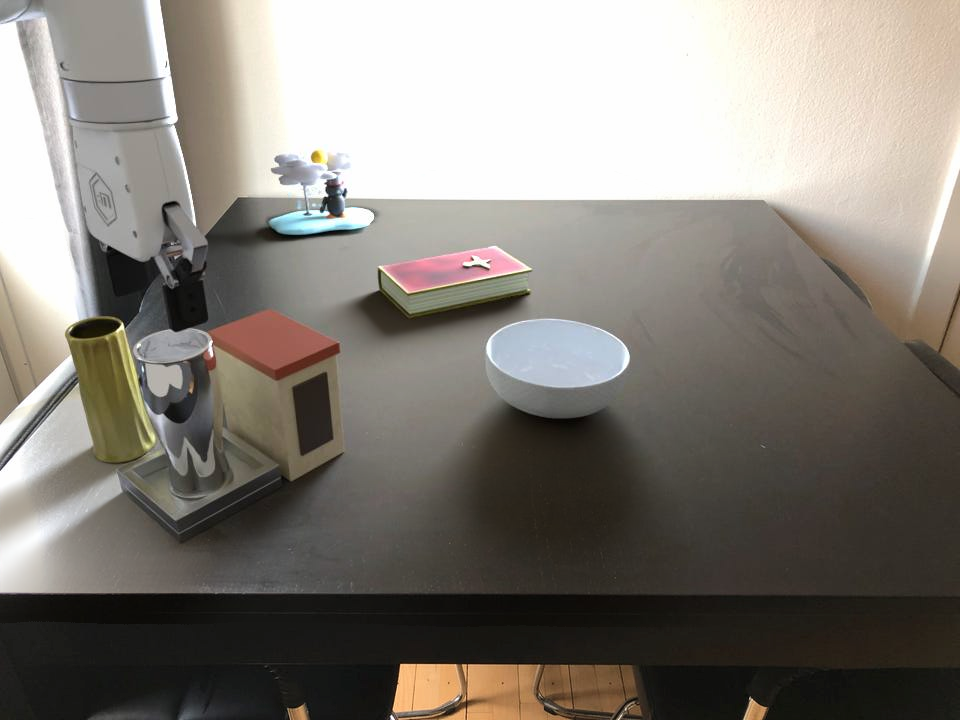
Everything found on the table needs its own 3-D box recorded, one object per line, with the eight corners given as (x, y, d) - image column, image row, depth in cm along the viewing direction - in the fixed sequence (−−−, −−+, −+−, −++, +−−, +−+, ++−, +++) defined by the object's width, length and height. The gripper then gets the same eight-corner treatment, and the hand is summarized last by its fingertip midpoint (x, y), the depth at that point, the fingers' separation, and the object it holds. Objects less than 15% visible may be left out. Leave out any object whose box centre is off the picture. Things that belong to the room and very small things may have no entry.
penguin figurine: (370, 215, 150) (365, 138, 143) (380, 232, 141) (375, 151, 134) (268, 223, 144) (258, 144, 137) (271, 241, 135) (261, 158, 128)
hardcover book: (378, 288, 117) (376, 264, 115) (493, 267, 126) (494, 243, 124) (408, 318, 108) (407, 291, 106) (530, 292, 117) (532, 267, 115)
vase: (131, 424, 83) (101, 309, 76) (168, 441, 80) (141, 323, 73) (81, 452, 78) (45, 332, 71) (119, 470, 76) (85, 347, 69)
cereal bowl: (592, 458, 79) (598, 402, 75) (458, 414, 86) (458, 361, 82) (643, 387, 92) (650, 337, 88) (523, 354, 99) (525, 306, 95)
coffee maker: (182, 545, 66) (153, 422, 60) (120, 490, 73) (88, 374, 67) (348, 451, 79) (339, 342, 73) (283, 411, 86) (269, 308, 79)
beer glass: (216, 449, 77) (192, 319, 70) (250, 479, 73) (228, 345, 66) (150, 478, 73) (117, 343, 66) (182, 512, 68) (150, 371, 61)
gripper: (20, 90, 58) (70, 291, 66) (128, 126, 48) (170, 357, 56) (115, 81, 63) (150, 269, 71) (230, 113, 53) (255, 326, 61)
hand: (159, 308), depth 64 cm, fingers open, 9 cm apart
